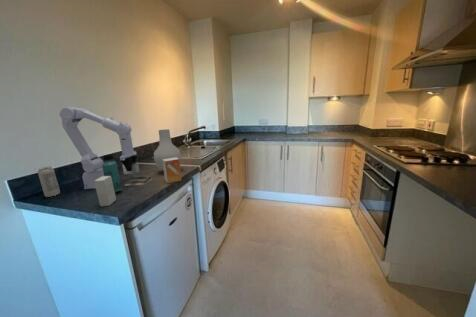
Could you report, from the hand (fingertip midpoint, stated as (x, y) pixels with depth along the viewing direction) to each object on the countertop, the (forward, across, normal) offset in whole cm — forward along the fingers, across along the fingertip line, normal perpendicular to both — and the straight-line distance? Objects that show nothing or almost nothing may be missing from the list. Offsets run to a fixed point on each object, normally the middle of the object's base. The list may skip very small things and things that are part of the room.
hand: (131, 169), depth 114 cm
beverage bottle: (+8, -14, +3) cm, 16 cm away
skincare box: (+8, -26, -1) cm, 27 cm away
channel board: (+8, 0, -3) cm, 9 cm away
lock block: (+2, 0, 0) cm, 2 cm away
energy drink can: (+8, -13, +35) cm, 38 cm away
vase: (+8, +19, -15) cm, 26 cm away
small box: (+8, 0, -23) cm, 24 cm away
